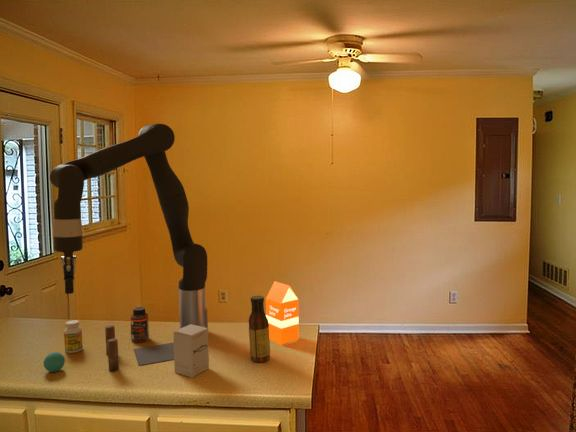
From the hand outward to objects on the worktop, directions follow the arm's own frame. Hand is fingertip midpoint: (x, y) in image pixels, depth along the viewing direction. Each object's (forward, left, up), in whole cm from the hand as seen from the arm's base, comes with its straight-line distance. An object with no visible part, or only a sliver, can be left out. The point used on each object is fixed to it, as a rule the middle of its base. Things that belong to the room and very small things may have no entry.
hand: (69, 293), depth 134 cm
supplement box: (-32, +15, -24) cm, 43 cm away
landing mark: (-25, -2, -24) cm, 34 cm away
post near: (-11, +5, -24) cm, 26 cm away
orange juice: (-66, +4, -24) cm, 70 cm away
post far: (-11, -8, -24) cm, 27 cm away
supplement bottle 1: (0, -17, -24) cm, 29 cm away
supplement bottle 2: (-21, -17, -24) cm, 36 cm away
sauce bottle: (-53, +16, -24) cm, 60 cm away
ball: (+5, -2, -21) cm, 21 cm away
